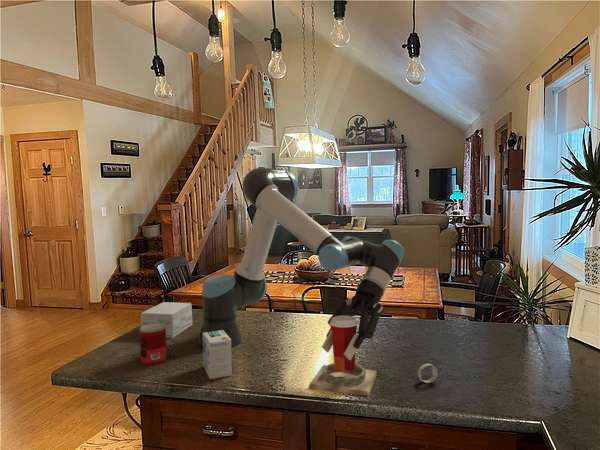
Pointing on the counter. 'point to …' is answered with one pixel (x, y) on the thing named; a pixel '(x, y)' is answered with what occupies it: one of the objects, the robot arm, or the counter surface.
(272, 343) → the counter surface
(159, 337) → the canned food
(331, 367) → the cup holder
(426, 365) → the grey ring
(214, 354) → the light bulb box
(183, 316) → the supplement box
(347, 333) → the paper cup
